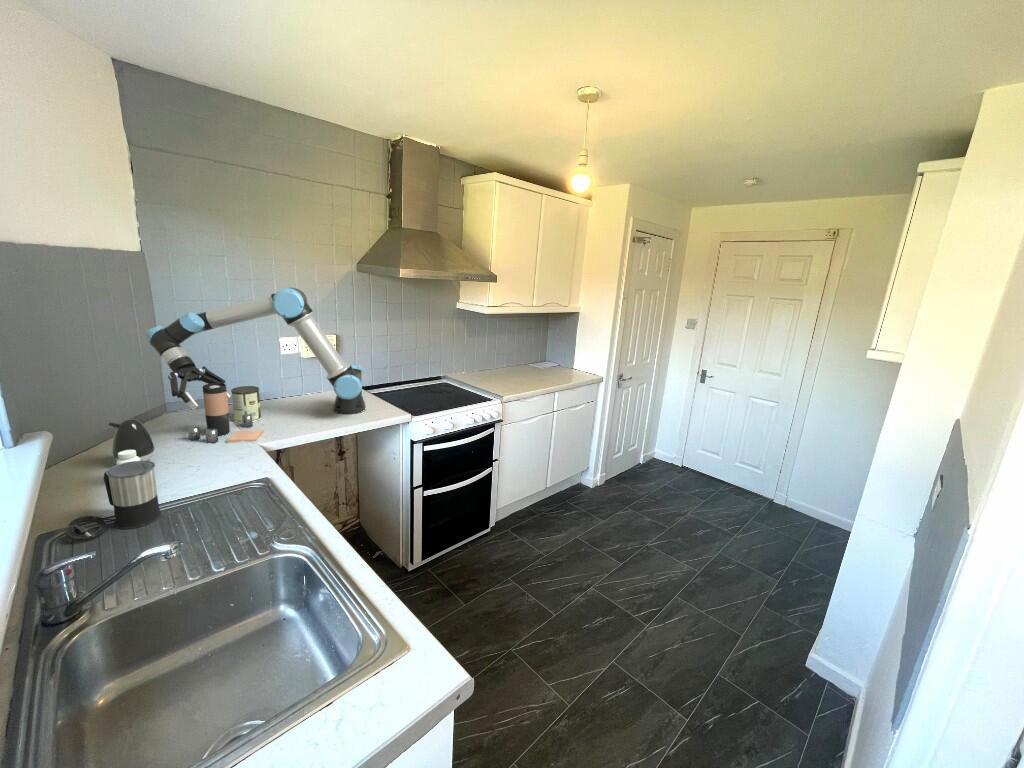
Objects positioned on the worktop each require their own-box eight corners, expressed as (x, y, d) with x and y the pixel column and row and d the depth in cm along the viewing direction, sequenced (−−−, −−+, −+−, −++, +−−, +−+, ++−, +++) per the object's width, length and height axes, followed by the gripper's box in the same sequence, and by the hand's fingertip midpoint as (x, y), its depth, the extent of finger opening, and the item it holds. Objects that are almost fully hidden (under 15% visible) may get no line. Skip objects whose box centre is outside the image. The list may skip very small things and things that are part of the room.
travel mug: (224, 428, 170) (220, 382, 166) (234, 433, 167) (230, 385, 162) (203, 433, 164) (198, 385, 159) (213, 438, 160) (208, 389, 156)
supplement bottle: (148, 478, 128) (143, 449, 126) (130, 486, 123) (125, 456, 120) (133, 476, 129) (128, 447, 126) (114, 484, 123) (109, 454, 121)
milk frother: (171, 511, 112) (164, 461, 109) (116, 547, 97) (106, 490, 93) (119, 507, 112) (110, 457, 109) (56, 543, 97) (43, 485, 93)
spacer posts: (254, 424, 177) (253, 413, 176) (236, 442, 158) (235, 430, 157) (207, 425, 172) (205, 414, 171) (183, 444, 153) (181, 431, 152)
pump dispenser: (123, 457, 140) (116, 415, 136) (161, 455, 144) (155, 413, 140) (107, 470, 131) (99, 425, 127) (148, 467, 134) (141, 423, 131)
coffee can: (245, 414, 188) (242, 385, 185) (266, 417, 187) (264, 387, 184) (228, 421, 178) (225, 390, 175) (250, 424, 177) (247, 392, 174)
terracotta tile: (263, 432, 170) (263, 430, 169) (255, 441, 160) (255, 439, 160) (236, 433, 167) (235, 430, 167) (226, 442, 158) (226, 440, 157)
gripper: (204, 362, 175) (236, 400, 175) (139, 372, 152) (175, 417, 152) (213, 351, 173) (245, 390, 173) (148, 360, 149) (185, 406, 149)
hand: (212, 403), depth 162 cm, fingers open, 13 cm apart
